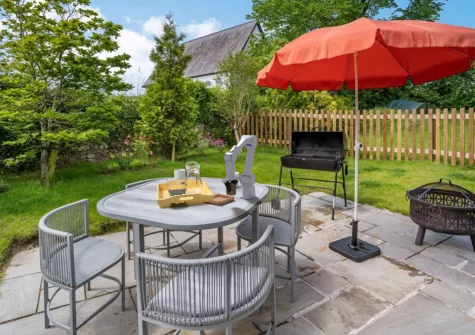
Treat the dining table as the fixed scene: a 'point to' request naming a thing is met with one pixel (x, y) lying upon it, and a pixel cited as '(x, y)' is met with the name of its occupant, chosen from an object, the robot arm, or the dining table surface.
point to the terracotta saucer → (221, 199)
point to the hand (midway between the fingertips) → (231, 191)
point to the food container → (177, 192)
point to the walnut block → (232, 190)
